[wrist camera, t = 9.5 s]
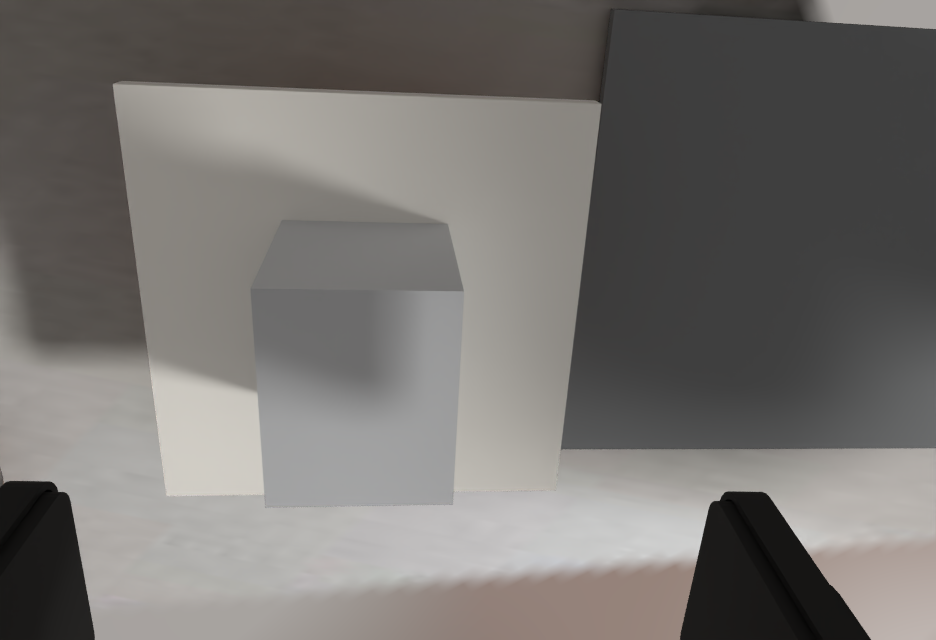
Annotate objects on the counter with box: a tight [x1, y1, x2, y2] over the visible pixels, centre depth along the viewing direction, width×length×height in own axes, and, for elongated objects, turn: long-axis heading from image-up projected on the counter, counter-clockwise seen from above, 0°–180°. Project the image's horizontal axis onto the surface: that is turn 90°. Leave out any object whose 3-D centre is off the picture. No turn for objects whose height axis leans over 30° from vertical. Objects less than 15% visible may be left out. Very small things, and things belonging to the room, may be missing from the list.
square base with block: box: [113, 81, 602, 508], centre depth 18 cm, size 11×11×5 cm
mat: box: [561, 9, 936, 449], centre depth 26 cm, size 20×15×1 cm
